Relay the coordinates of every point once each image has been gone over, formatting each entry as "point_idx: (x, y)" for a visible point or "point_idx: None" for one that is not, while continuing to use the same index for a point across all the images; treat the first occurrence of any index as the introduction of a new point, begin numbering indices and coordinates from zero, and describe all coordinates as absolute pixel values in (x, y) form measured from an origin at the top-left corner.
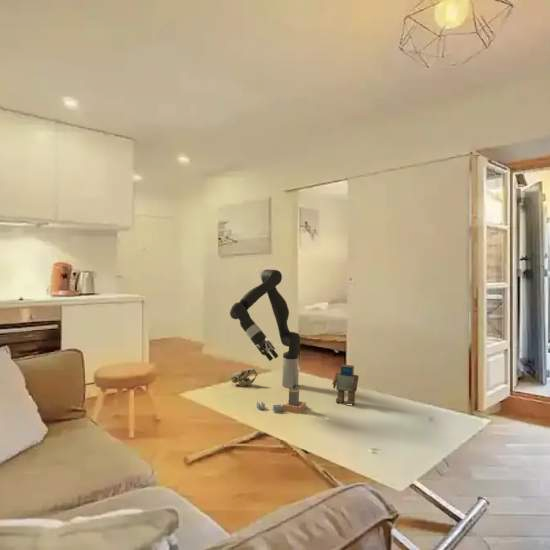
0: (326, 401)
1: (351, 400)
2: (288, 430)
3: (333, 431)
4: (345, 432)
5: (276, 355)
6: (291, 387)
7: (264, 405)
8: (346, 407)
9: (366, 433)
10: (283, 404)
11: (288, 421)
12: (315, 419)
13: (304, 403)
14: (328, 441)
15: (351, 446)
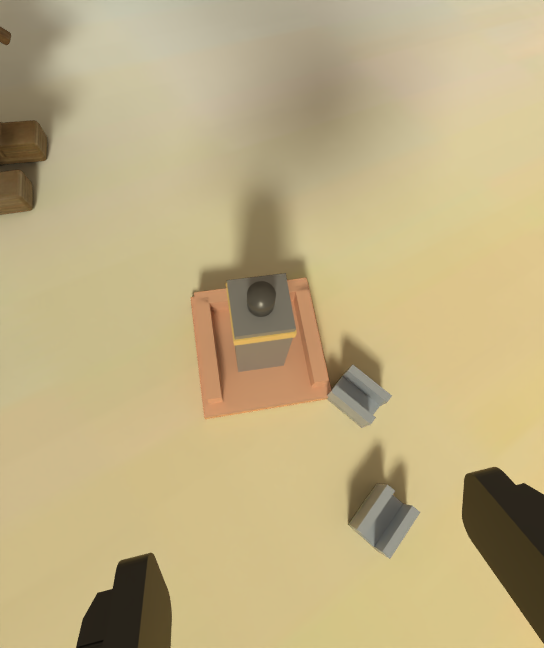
0: (28, 261)
1: (20, 126)
2: (521, 233)
3: (401, 105)
4: (380, 74)
5: (151, 597)
6: (268, 323)
7: (385, 485)
8: (82, 152)
9: (339, 25)
10: (318, 377)
11: (437, 281)
12: (330, 200)
13: (223, 289)
14: (493, 91)
15: (472, 33)
